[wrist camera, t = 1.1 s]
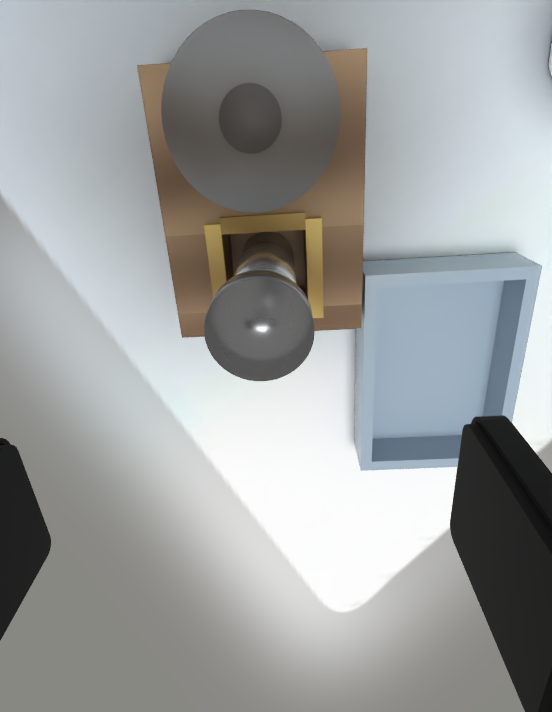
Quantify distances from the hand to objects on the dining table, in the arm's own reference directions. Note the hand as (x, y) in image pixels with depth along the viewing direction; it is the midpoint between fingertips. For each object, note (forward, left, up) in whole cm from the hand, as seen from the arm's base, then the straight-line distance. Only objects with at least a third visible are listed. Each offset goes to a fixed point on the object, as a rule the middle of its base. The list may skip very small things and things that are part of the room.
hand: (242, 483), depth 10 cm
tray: (+7, +10, -20) cm, 24 cm away
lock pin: (0, 0, -19) cm, 19 cm away
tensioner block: (-4, 0, -20) cm, 20 cm away
